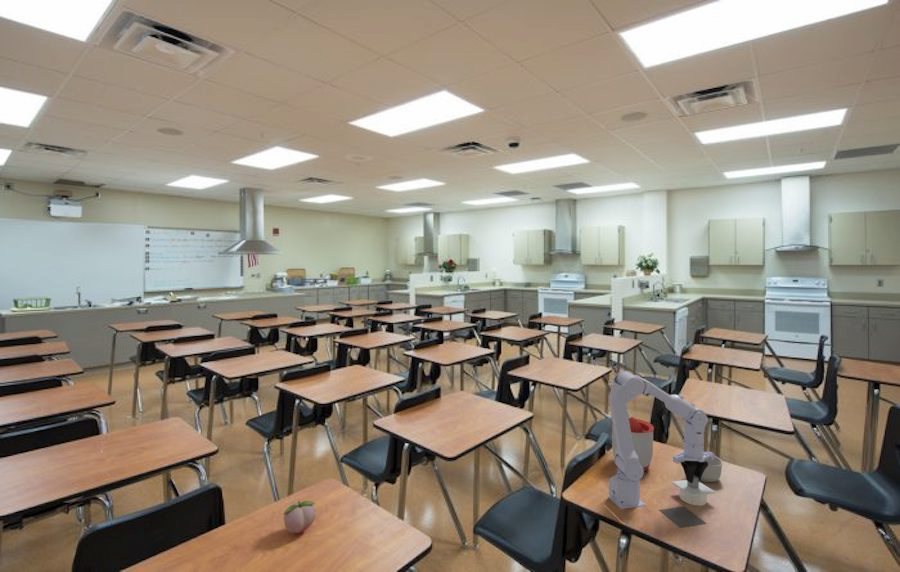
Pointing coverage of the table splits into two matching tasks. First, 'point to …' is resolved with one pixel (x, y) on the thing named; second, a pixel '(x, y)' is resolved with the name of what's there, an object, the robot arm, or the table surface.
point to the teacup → (712, 470)
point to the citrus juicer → (639, 440)
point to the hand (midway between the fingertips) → (693, 481)
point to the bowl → (693, 498)
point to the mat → (682, 517)
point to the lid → (693, 487)
